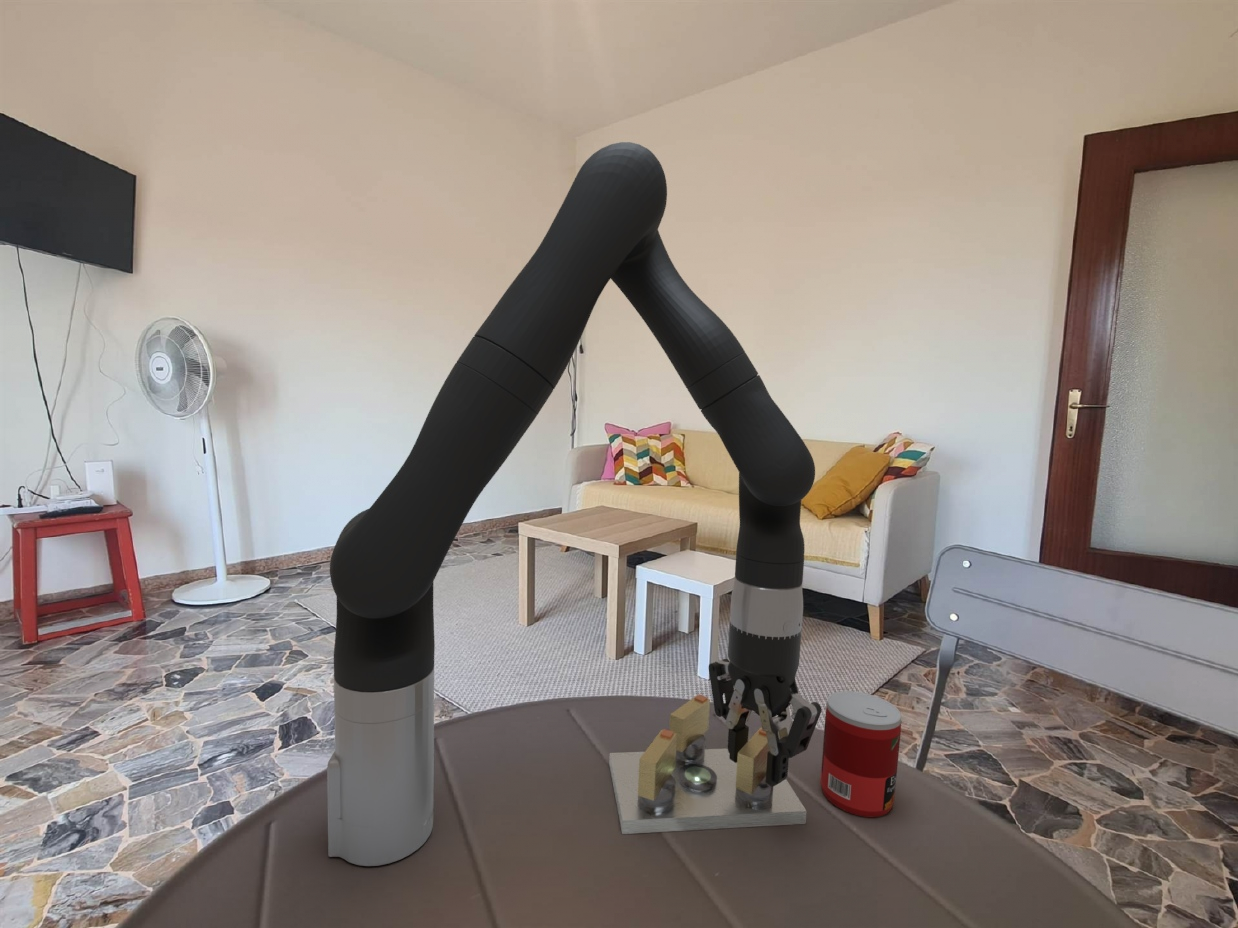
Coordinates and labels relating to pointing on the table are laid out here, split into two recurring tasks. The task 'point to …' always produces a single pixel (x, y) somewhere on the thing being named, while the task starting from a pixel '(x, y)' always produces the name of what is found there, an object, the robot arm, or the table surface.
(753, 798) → the knob
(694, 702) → the yellow paddle knob
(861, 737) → the canned food
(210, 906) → the table surface
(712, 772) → the level plate
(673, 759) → the knob
